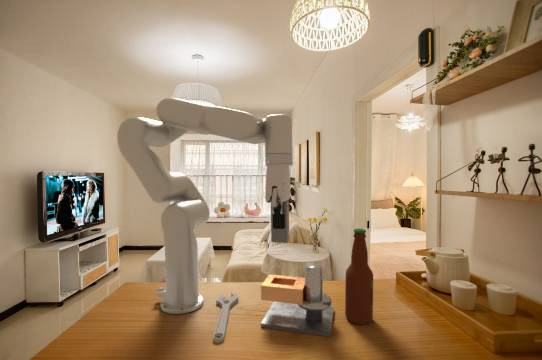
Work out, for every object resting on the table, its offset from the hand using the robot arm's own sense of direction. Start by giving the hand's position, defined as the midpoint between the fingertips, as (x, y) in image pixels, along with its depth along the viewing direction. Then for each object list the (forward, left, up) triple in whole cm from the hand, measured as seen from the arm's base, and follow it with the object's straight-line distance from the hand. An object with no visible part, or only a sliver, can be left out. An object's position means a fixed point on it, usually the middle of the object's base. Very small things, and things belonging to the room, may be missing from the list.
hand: (280, 226), depth 82 cm
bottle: (+21, +5, -26) cm, 34 cm away
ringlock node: (+5, +1, -26) cm, 26 cm away
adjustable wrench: (-16, -3, -26) cm, 31 cm away
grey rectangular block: (0, 0, -4) cm, 4 cm away
